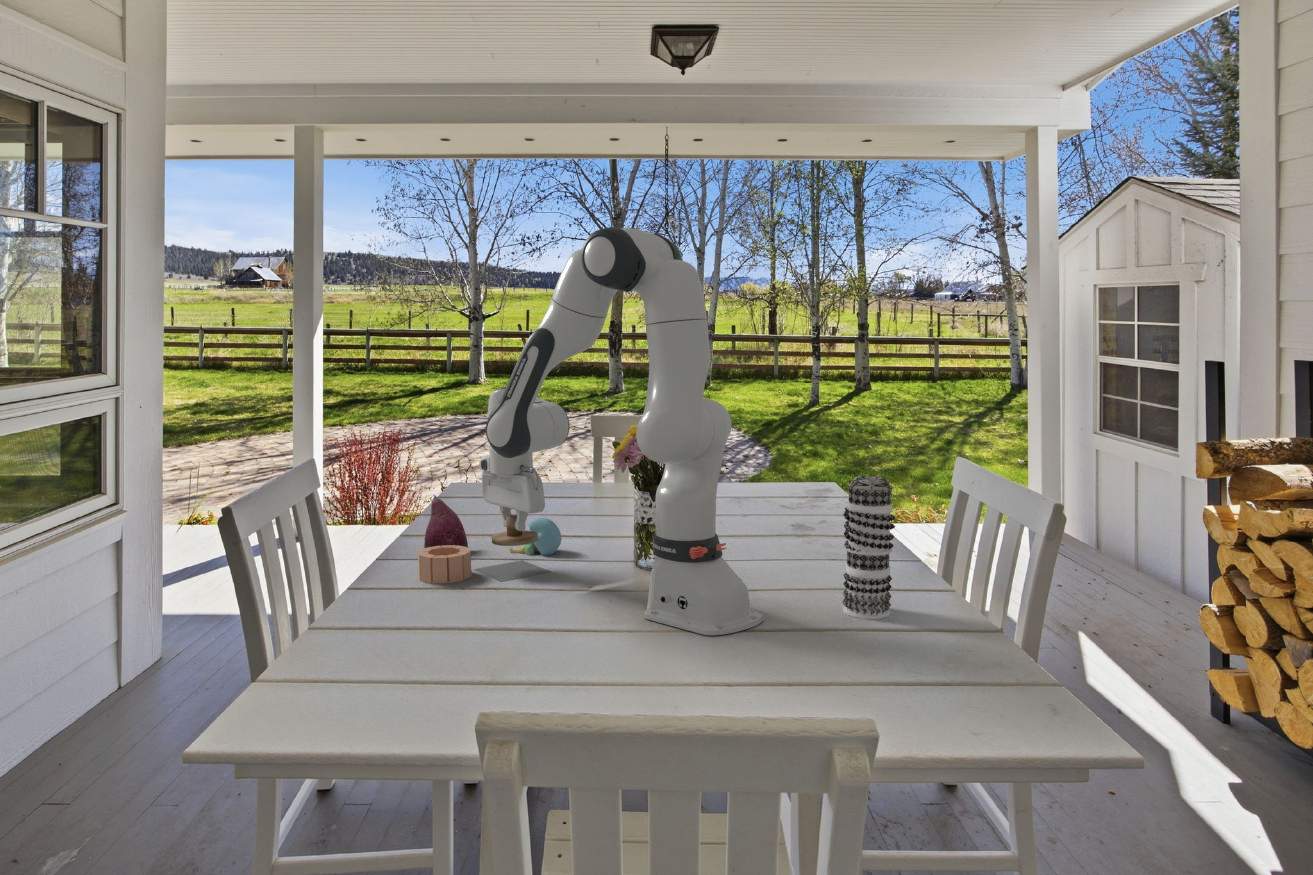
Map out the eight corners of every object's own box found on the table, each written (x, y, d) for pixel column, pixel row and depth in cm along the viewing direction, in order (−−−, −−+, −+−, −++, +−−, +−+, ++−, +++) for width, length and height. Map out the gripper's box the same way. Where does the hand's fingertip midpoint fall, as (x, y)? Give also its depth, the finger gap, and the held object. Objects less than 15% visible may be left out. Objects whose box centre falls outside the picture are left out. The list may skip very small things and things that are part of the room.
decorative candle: (831, 613, 163) (835, 478, 160) (854, 601, 170) (858, 472, 167) (878, 623, 158) (883, 484, 154) (900, 610, 165) (904, 477, 162)
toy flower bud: (509, 517, 207) (560, 513, 206) (513, 554, 208) (564, 551, 207) (503, 524, 200) (556, 520, 199) (507, 562, 201) (560, 559, 200)
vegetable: (418, 569, 205) (397, 507, 203) (448, 553, 213) (428, 494, 212) (451, 564, 199) (430, 500, 198) (480, 548, 208) (460, 487, 206)
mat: (551, 575, 188) (551, 571, 188) (501, 585, 180) (501, 581, 180) (522, 563, 197) (522, 560, 197) (473, 572, 190) (473, 569, 190)
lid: (546, 540, 187) (545, 516, 186) (506, 548, 181) (505, 522, 180) (523, 533, 194) (522, 510, 194) (483, 540, 188) (482, 516, 188)
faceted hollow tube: (480, 580, 184) (479, 552, 183) (431, 590, 177) (430, 560, 176) (457, 569, 192) (456, 542, 191) (409, 578, 185) (408, 550, 184)
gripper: (551, 466, 180) (553, 533, 181) (501, 458, 196) (504, 520, 197) (523, 469, 176) (526, 538, 177) (475, 461, 192) (478, 524, 193)
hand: (514, 528), depth 187 cm, fingers closed on lid, 3 cm apart
